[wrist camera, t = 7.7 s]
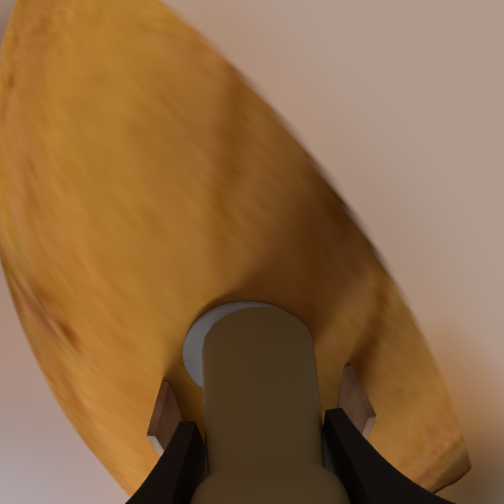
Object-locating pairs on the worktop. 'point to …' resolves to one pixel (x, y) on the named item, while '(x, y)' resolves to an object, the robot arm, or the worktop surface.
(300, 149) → the worktop surface
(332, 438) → the robot arm
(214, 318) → the coaster
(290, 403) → the pepper mill
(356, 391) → the open wooden enclosure
